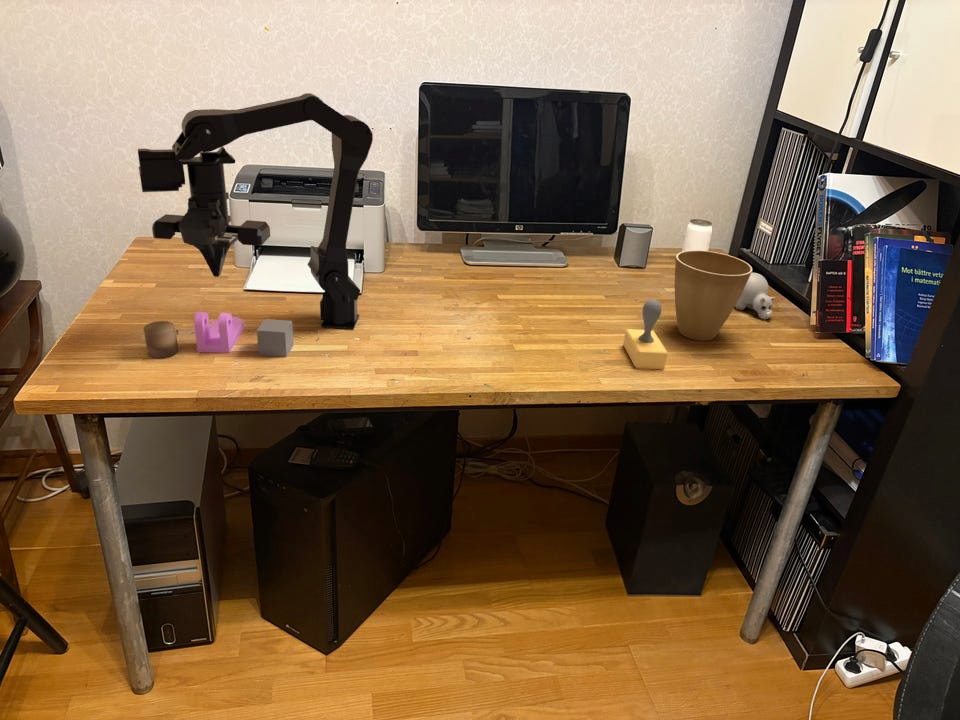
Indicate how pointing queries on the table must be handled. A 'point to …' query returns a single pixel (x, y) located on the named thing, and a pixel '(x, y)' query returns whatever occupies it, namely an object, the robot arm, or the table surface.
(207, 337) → the bracket
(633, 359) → the rubber stamp
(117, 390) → the table surface
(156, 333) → the walnut cylinder
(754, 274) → the chubby cartoon animal
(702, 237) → the can
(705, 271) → the plant pot
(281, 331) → the grey cube
